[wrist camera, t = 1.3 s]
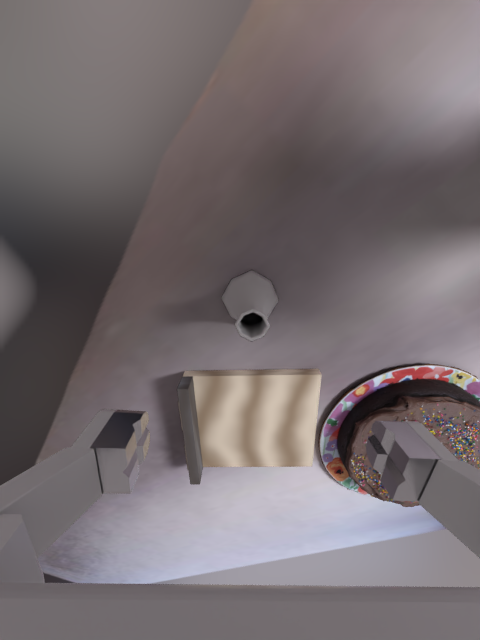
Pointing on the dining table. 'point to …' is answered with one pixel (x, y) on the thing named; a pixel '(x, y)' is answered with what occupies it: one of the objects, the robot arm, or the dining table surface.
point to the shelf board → (248, 418)
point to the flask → (250, 304)
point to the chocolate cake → (401, 405)
